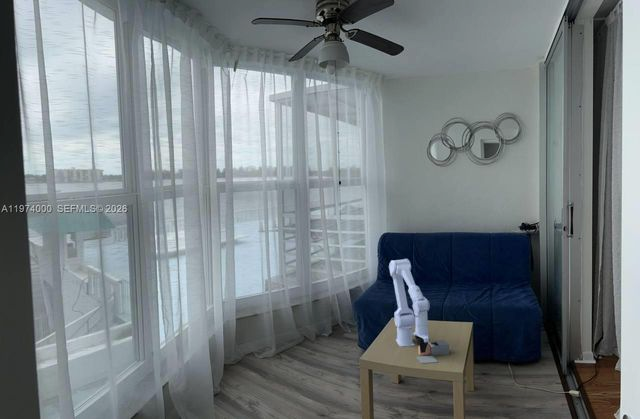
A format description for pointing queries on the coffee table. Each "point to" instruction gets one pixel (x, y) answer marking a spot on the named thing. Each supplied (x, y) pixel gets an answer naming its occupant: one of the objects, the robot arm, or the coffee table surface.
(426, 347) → the salmon pink brick
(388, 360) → the coffee table surface
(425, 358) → the pad
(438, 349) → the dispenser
